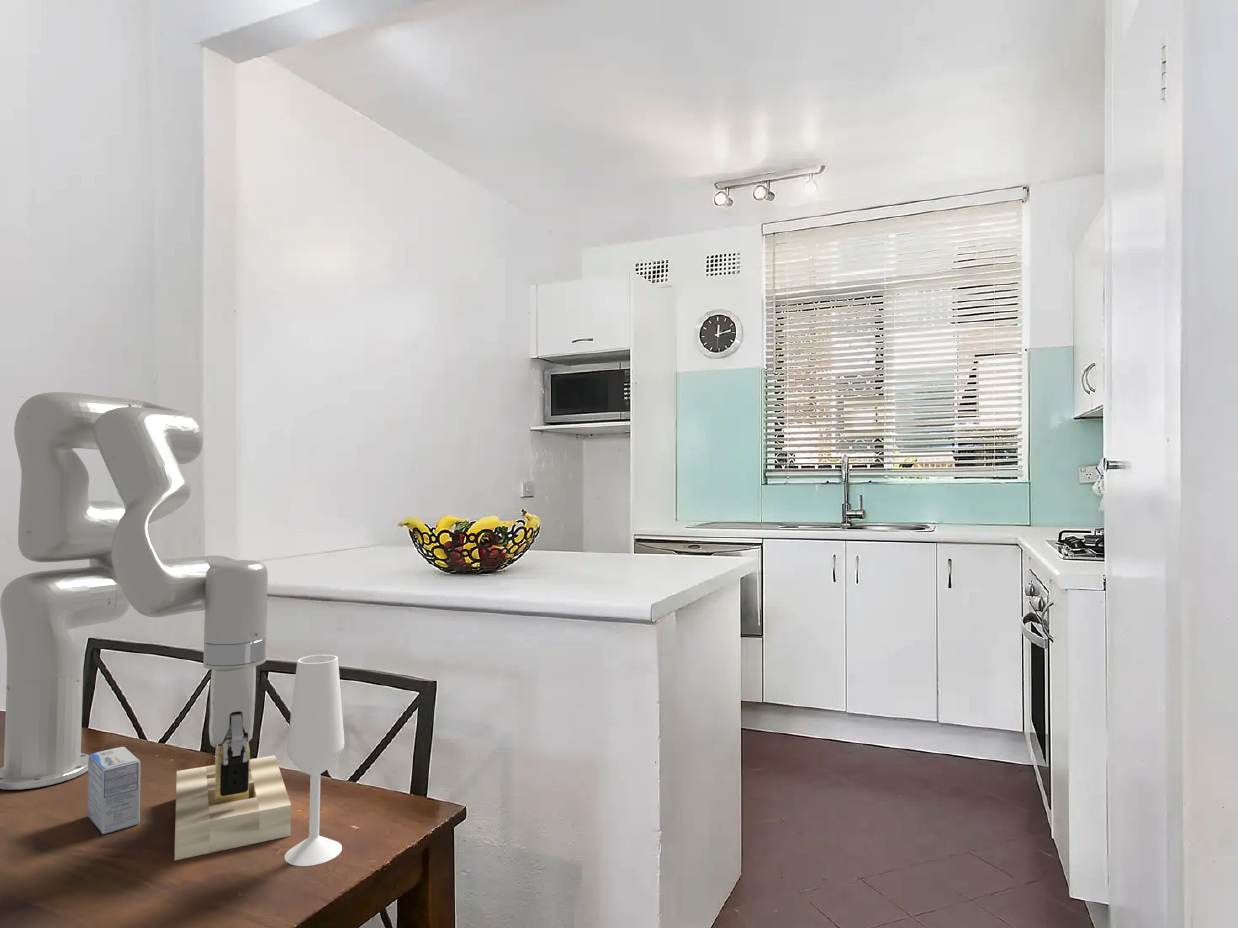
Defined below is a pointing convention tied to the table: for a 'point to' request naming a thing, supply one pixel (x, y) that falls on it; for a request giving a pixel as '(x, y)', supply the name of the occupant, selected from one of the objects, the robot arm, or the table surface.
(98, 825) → the medicine box
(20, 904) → the table surface
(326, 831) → the table surface
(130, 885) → the table surface
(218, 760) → the brass peg
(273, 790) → the socket block
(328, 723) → the champagne flute
